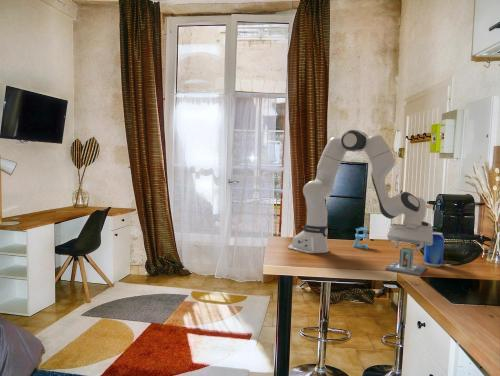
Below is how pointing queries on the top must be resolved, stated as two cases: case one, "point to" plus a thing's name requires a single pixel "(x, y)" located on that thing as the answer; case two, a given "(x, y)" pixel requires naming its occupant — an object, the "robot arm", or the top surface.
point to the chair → (360, 237)
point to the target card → (406, 269)
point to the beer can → (434, 251)
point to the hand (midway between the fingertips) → (406, 249)
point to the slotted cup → (410, 257)
